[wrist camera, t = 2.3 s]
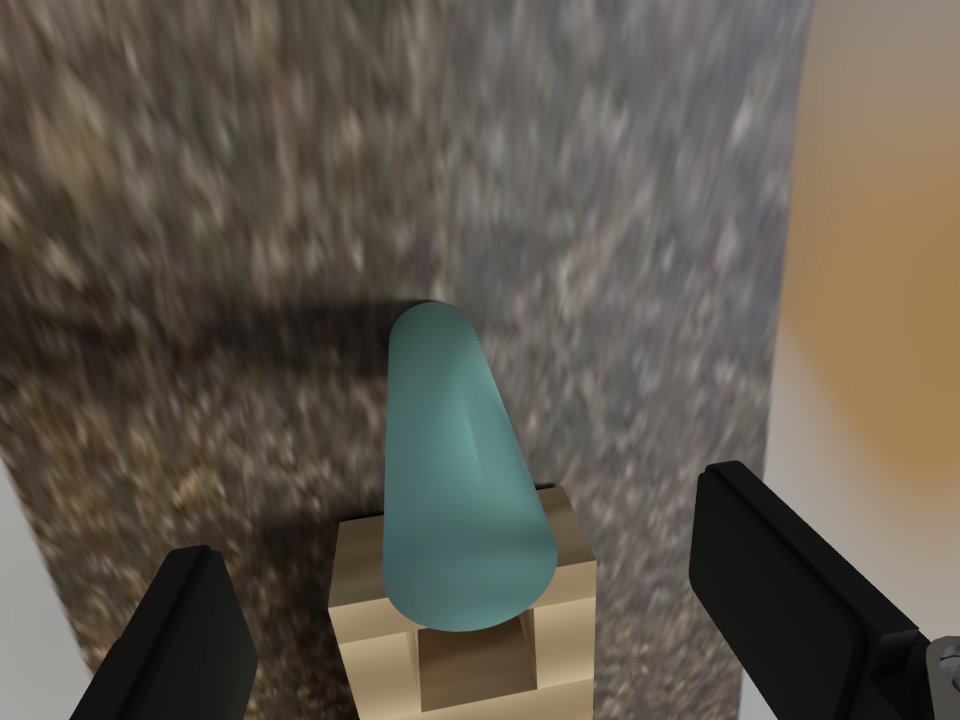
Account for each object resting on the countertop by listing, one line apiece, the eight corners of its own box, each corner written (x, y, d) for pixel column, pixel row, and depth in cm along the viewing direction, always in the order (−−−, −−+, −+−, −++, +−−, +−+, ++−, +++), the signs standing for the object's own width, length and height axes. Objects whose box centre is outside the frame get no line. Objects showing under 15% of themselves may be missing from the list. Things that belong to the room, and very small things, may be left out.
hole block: (339, 522, 20) (327, 608, 17) (562, 486, 21) (596, 560, 18) (398, 757, 27) (398, 853, 24) (565, 722, 28) (590, 810, 24)
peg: (382, 307, 17) (367, 515, 8) (472, 297, 17) (556, 485, 8) (395, 388, 18) (396, 645, 9) (479, 376, 19) (558, 614, 10)
